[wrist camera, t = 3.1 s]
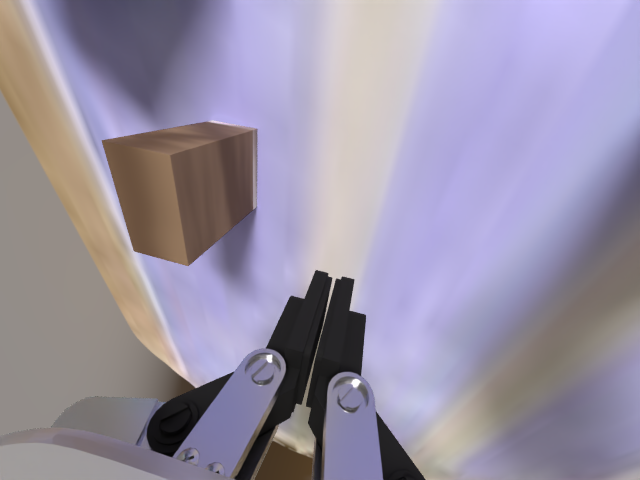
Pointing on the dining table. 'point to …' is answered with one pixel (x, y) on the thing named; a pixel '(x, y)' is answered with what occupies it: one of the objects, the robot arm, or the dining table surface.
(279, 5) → the dining table surface
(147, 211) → the walnut block
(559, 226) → the dining table surface
